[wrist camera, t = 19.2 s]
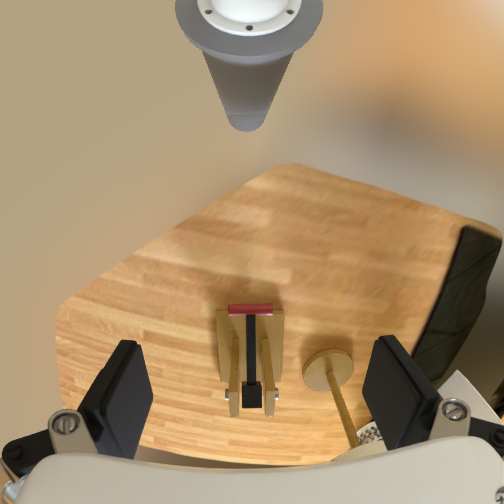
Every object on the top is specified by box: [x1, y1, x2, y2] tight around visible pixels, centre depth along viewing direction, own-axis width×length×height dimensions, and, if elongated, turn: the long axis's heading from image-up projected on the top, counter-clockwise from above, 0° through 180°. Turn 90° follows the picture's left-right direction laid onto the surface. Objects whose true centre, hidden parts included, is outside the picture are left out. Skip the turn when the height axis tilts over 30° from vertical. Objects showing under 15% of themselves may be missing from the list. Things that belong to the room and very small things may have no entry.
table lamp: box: [303, 349, 387, 462], centre depth 30 cm, size 10×10×25 cm
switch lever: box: [228, 303, 273, 408], centre depth 32 cm, size 12×5×2 cm, turn 0°
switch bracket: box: [216, 310, 285, 417], centre depth 35 cm, size 12×9×12 cm
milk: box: [438, 370, 504, 426], centre depth 35 cm, size 6×6×22 cm
